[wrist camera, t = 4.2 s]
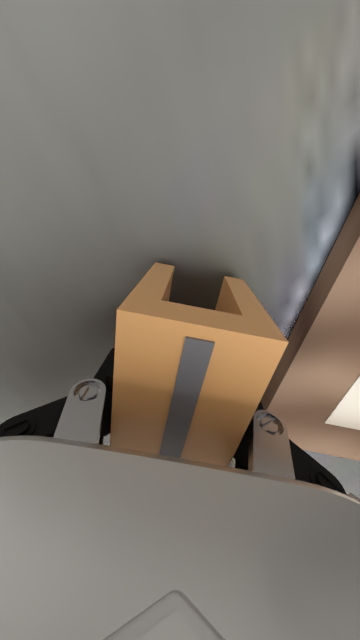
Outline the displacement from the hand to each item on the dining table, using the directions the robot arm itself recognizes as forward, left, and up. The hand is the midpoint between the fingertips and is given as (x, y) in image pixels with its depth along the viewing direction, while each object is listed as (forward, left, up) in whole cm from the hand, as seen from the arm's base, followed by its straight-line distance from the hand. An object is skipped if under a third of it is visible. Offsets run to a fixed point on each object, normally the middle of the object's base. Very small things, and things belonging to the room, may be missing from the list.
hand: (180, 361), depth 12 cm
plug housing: (0, 0, -1) cm, 1 cm away
